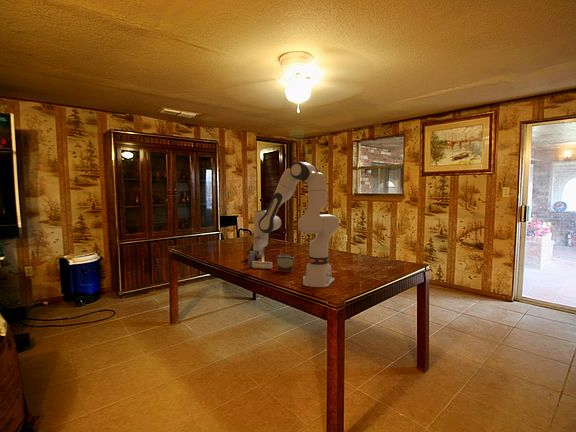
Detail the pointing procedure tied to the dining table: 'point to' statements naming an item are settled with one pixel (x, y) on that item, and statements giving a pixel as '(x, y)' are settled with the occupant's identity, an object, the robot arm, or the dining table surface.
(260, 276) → the dining table surface
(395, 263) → the dining table surface
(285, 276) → the dining table surface
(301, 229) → the robot arm
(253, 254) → the latch stile
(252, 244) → the stone
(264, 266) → the gate leaf
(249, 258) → the hinge post
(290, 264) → the food container
